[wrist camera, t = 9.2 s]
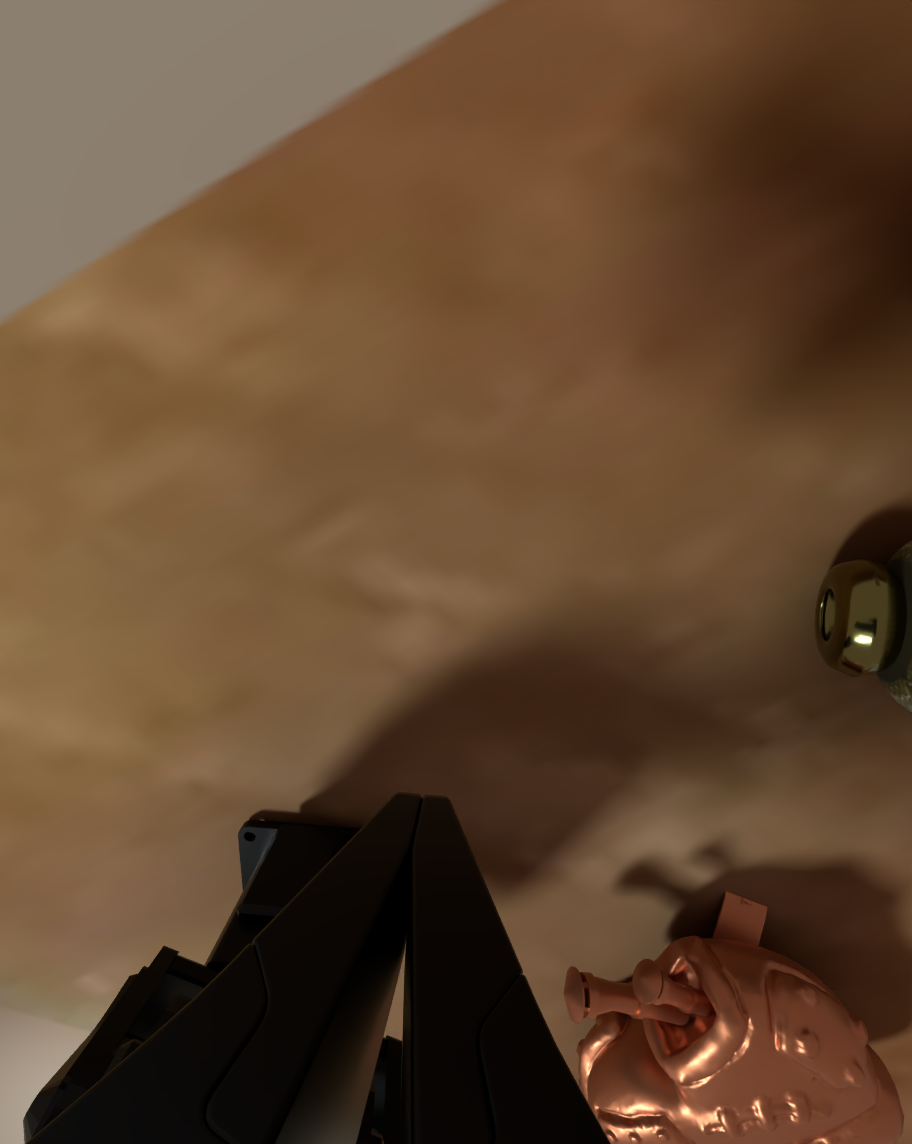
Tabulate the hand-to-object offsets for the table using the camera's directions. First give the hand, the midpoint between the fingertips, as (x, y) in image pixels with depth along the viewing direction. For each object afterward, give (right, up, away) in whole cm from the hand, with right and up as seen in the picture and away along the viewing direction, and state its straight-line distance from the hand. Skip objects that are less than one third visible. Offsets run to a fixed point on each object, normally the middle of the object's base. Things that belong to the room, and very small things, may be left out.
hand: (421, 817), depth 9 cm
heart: (+11, -15, +16) cm, 25 cm away
